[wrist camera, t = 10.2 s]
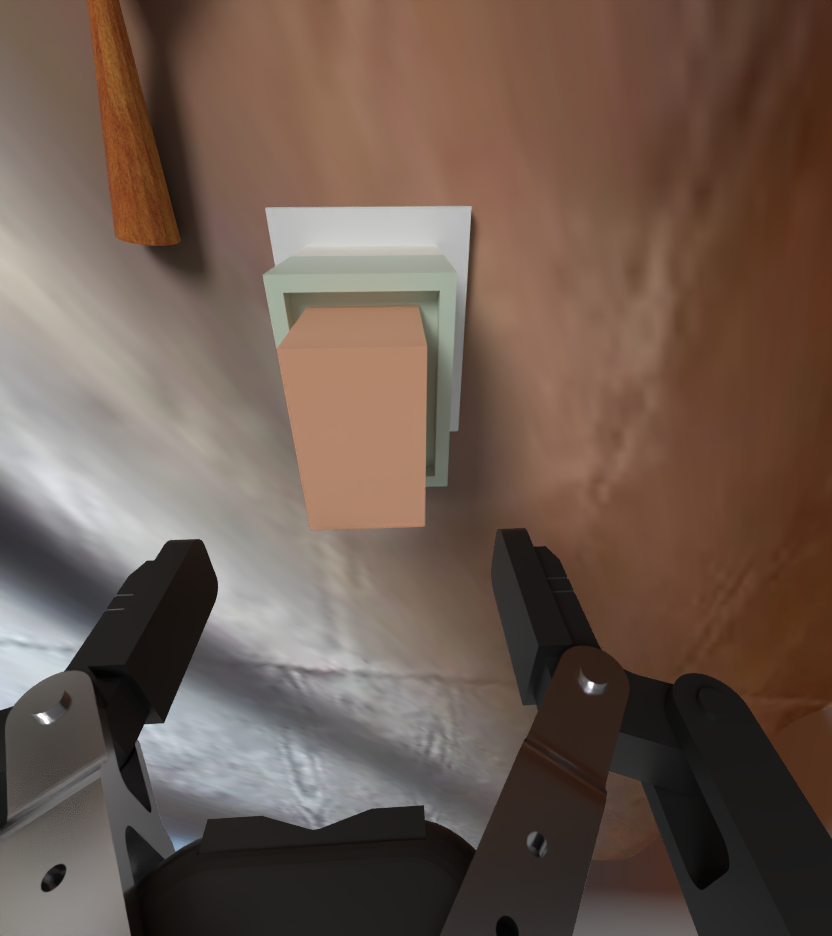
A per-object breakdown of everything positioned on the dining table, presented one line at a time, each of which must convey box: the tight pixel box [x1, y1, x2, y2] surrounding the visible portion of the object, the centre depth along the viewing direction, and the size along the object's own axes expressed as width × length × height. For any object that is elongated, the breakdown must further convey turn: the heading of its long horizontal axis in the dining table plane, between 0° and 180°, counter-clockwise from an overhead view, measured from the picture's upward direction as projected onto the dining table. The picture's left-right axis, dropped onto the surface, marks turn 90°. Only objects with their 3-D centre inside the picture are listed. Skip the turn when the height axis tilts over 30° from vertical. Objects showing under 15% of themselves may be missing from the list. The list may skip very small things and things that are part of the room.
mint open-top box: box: [263, 206, 471, 487], centre depth 25 cm, size 15×12×11 cm
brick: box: [277, 305, 427, 530], centre depth 19 cm, size 8×5×6 cm, turn 0°
